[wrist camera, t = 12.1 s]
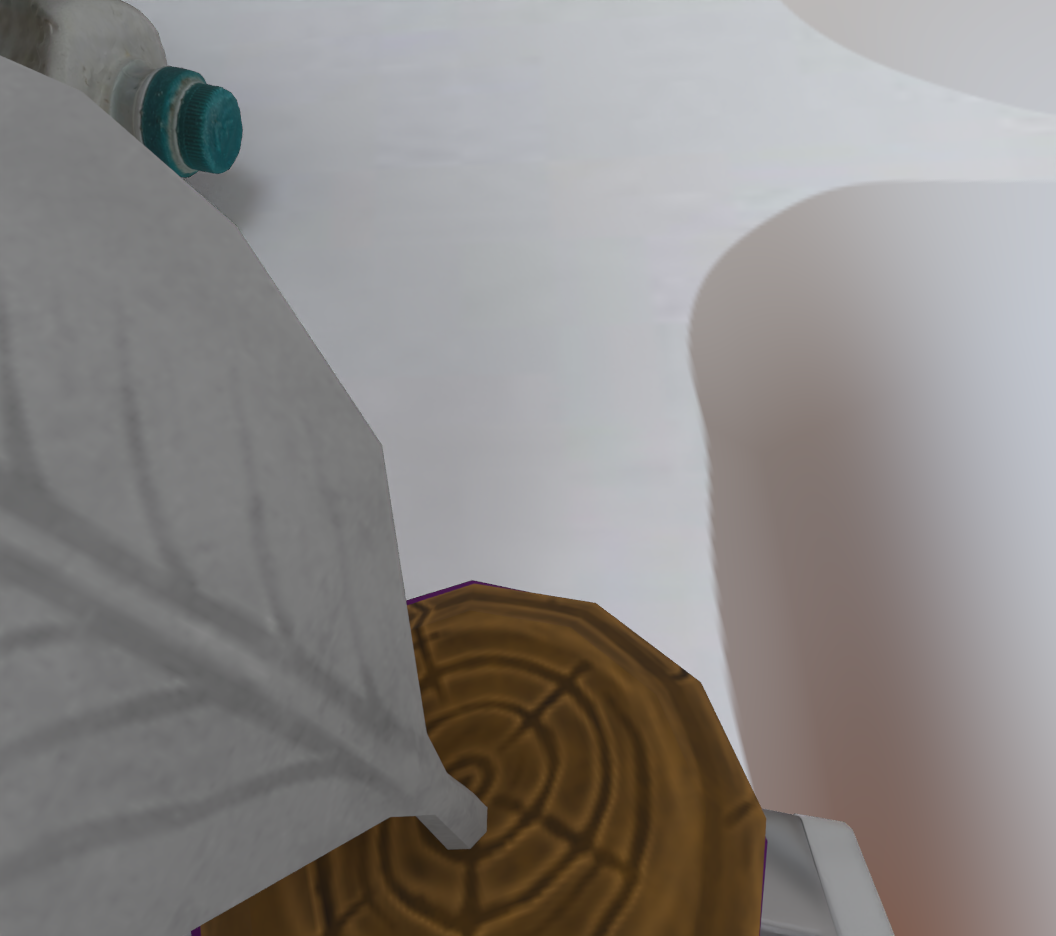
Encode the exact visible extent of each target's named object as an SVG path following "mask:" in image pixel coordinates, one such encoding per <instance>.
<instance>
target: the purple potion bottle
mask: <svg viewBox="0 0 1056 936" xmlns="http://www.w3.org/2000/svg"><path fill="white" fill-rule="evenodd" d="M765 834H766V817H765V815H764V812H763V810H762V808H761V806H760V804H759V802H758V800H757V798H756V796H755V794H754V792H753V790H752V788H751V785H750V783H749V781H748V779H747V777H746V775H745V773H744V771H743V769H742V767H741V765H740V763H739V761H738V758H737V756H736V754H735V752H734V750H733V748H732V746H731V744H730V742H729V740H728V738H727V736H726V734H725V731H724V729H723V727H722V725H721V723H720V721H719V719H718V717H717V715H716V713H715V711H714V709H713V707H712V704H711V702H710V700H709V698H708V696H707V694H706V692H705V690H704V688H703V686H702V684H701V682H700V681H698V680H697V679H696V678H694V677H693V676H692V675H690V674H689V673H688V672H686V671H685V670H684V669H682V668H681V667H680V666H678V665H677V664H676V663H674V662H673V661H672V660H670V659H669V658H668V657H667V656H665V655H664V654H663V653H661V652H660V651H659V650H657V649H656V648H655V647H653V646H652V645H651V644H649V643H648V642H647V641H645V640H644V639H643V638H641V637H640V636H639V635H637V634H636V633H635V632H633V631H632V630H631V629H629V628H628V627H627V626H625V625H624V624H623V623H622V622H620V621H619V620H618V619H616V618H615V617H614V616H612V615H611V614H610V613H608V612H607V611H606V610H604V609H603V608H602V607H600V606H599V605H598V604H596V603H592V602H586V601H580V600H573V599H567V598H561V597H555V596H549V595H543V594H536V593H531V592H526V591H521V590H516V589H511V588H507V587H502V586H497V585H492V584H487V583H483V582H478V581H473V580H472V581H468V582H465V583H462V584H459V585H455V586H452V587H449V588H446V589H442V590H439V591H436V592H433V593H429V594H426V595H423V596H420V597H416V598H413V599H410V600H407V601H406V597H405V591H404V584H403V578H402V571H401V565H400V559H399V552H398V546H397V539H396V533H395V527H394V520H393V514H392V507H391V501H390V494H389V488H388V482H387V475H386V469H385V462H384V456H383V449H382V445H381V443H380V442H379V440H378V439H377V437H376V436H375V434H374V433H373V431H372V430H371V428H370V427H369V425H368V424H367V422H366V421H365V419H364V418H363V416H362V414H361V413H360V411H359V410H358V408H357V407H356V405H355V404H354V402H353V401H352V399H351V398H350V396H349V395H348V393H347V392H346V390H345V389H344V387H343V386H342V384H341V383H340V381H339V380H338V378H337V377H336V375H335V374H334V372H333V371H332V369H331V368H330V366H329V365H328V363H327V362H326V360H325V359H324V357H323V356H322V354H321V353H320V351H319V350H318V348H317V347H316V345H315V344H314V342H313V341H312V339H311V338H310V336H309V335H308V333H307V332H306V330H305V329H304V327H303V326H302V324H301V322H300V321H299V319H298V318H297V316H296V315H295V313H294V312H293V310H292V309H291V307H290V306H289V304H288V303H287V301H286V300H285V298H284V297H283V295H282V294H281V292H280V291H279V289H278V288H277V286H276V285H275V283H274V282H273V280H272V279H271V277H270V276H269V274H268V273H267V271H266V270H265V268H264V267H263V265H262V264H261V262H260V261H259V259H258V258H257V256H256V255H255V253H254V252H253V250H252V249H251V247H250V246H249V244H248V243H247V241H246V240H245V238H244V237H243V235H242V234H241V232H240V230H239V229H238V227H237V226H236V225H235V224H234V223H233V222H232V221H230V220H229V219H228V218H227V217H226V216H225V215H223V214H222V213H221V212H220V211H219V210H218V209H217V208H215V207H214V206H213V205H212V204H211V203H210V202H209V201H207V200H206V199H205V198H204V197H203V196H202V195H200V194H199V193H198V192H197V191H196V190H195V189H194V188H192V187H191V186H190V185H189V184H188V183H187V182H186V181H184V180H183V179H182V178H181V177H180V176H179V175H177V174H176V173H175V172H174V171H173V170H172V169H171V168H169V167H168V166H167V165H166V164H165V163H164V162H163V161H161V160H160V159H159V158H158V157H157V156H156V155H154V154H153V153H152V152H151V151H150V150H149V149H148V148H146V147H145V146H144V145H143V144H142V143H141V142H139V141H138V140H137V139H136V138H135V137H134V136H133V135H131V134H130V133H129V132H128V131H127V130H126V129H125V128H123V127H122V126H121V125H120V124H119V123H118V122H116V121H115V120H114V119H113V118H112V117H111V116H110V115H108V114H107V113H106V112H105V111H104V110H103V109H102V108H100V107H99V106H98V105H97V104H96V103H95V102H93V101H92V100H91V99H90V98H89V97H88V96H87V95H85V94H84V93H83V92H82V91H80V90H78V89H75V88H73V87H71V86H69V85H66V84H64V83H62V82H59V81H57V80H55V79H53V78H50V77H48V76H46V75H43V74H41V73H39V72H37V71H34V70H32V69H30V68H28V67H25V66H23V65H21V64H18V63H16V62H14V61H12V60H9V59H7V58H5V57H2V56H0V936H183V935H185V934H187V933H188V932H190V931H191V936H760V929H761V917H762V905H763V893H764V881H765V869H766V857H767V845H768V841H767V838H766V836H765Z"/></svg>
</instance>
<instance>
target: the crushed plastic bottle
mask: <svg viewBox="0 0 1056 936" xmlns="http://www.w3.org/2000/svg"><path fill="white" fill-rule="evenodd" d="M0 56H2V57H5V58H7V59H9V60H12V61H14V62H16V63H18V64H21V65H23V66H25V67H28V68H30V69H32V70H34V71H37V72H39V73H41V74H43V75H46V76H48V77H50V78H53V79H55V80H57V81H59V82H62V83H64V84H66V85H69V86H71V87H73V88H75V89H78V90H80V91H82V92H83V93H84V94H85V95H87V96H88V97H89V98H90V99H91V100H92V101H93V102H95V103H96V104H97V105H98V106H99V107H100V108H102V109H103V110H104V111H105V112H106V113H107V114H108V115H110V116H111V117H112V118H113V119H114V120H115V121H116V122H118V123H119V124H120V125H121V126H122V127H123V128H125V129H126V130H127V131H128V132H129V133H130V134H131V135H133V136H134V137H135V138H136V139H137V140H138V141H139V142H141V143H142V144H143V145H144V146H145V147H146V148H148V149H149V150H150V151H151V152H152V153H153V154H154V155H156V156H157V157H158V158H159V159H160V160H161V161H163V162H164V163H165V164H166V165H167V166H168V167H169V168H171V169H172V170H173V171H174V172H175V173H176V174H177V175H179V176H180V177H184V178H187V177H190V176H192V175H193V174H195V173H197V172H198V171H204V172H209V173H215V174H220V173H223V172H225V171H227V170H229V169H230V167H231V166H232V164H233V163H234V161H235V159H236V157H237V155H238V153H239V150H240V146H241V140H242V131H243V129H242V122H241V115H240V109H239V107H238V103H237V100H236V98H235V97H234V96H233V94H232V93H231V92H229V91H227V90H225V89H223V87H219V86H212V85H208V84H206V82H205V79H204V78H203V77H202V76H201V75H200V74H199V73H197V72H194V71H191V70H187V69H183V68H177V67H172V66H167V61H166V56H165V52H164V49H163V47H162V44H161V41H160V37H159V34H158V32H157V30H156V28H155V27H154V26H153V24H152V23H151V22H150V21H149V19H148V18H147V17H146V16H145V15H144V14H143V13H141V12H140V11H139V10H137V9H136V8H134V7H133V6H131V5H129V4H128V3H125V2H123V1H121V0H0Z"/></svg>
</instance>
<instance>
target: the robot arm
mask: <svg viewBox="0 0 1056 936" xmlns="http://www.w3.org/2000/svg"><path fill="white" fill-rule="evenodd" d="M762 810H763V812H764V815H765V817H766V834H765V836H766V838H767V841H768V845H767V857H766V869H765V881H764V893H763V905H762V917H761V929H760V936H895V935H894V933H893V930H892V928H891V925H890V923H889V920H888V918H887V915H886V913H885V910H884V908H883V905H882V903H881V900H880V898H879V895H878V893H877V890H876V888H875V885H874V883H873V880H872V877H871V875H870V872H869V870H868V868H867V865H866V863H865V860H864V858H863V855H862V852H861V850H860V848H859V845H858V843H857V840H856V837H855V835H854V832H853V830H852V829H851V828H850V827H849V826H848V825H847V824H846V823H845V822H841V821H834V820H829V819H824V818H818V817H812V816H806V815H801V814H793V815H792V814H787V813H781V812H777V811H772V810H767V809H762ZM183 936H191V931H190V932H188V933H187V934H185V935H183Z"/></svg>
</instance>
